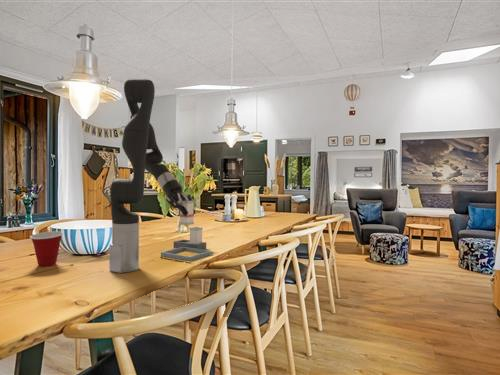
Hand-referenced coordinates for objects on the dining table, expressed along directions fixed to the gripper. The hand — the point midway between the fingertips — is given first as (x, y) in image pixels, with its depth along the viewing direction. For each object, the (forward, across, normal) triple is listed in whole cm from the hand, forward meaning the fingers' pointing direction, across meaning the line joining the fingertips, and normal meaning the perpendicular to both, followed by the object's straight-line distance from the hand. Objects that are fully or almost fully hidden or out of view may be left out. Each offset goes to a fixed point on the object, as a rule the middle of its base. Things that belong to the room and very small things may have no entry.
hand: (190, 213), depth 140 cm
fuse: (+8, +11, +17) cm, 22 cm away
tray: (+12, 0, +15) cm, 19 cm away
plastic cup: (-13, -39, +40) cm, 57 cm away
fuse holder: (+6, +11, +20) cm, 24 cm away
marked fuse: (+2, 0, +5) cm, 5 cm away
